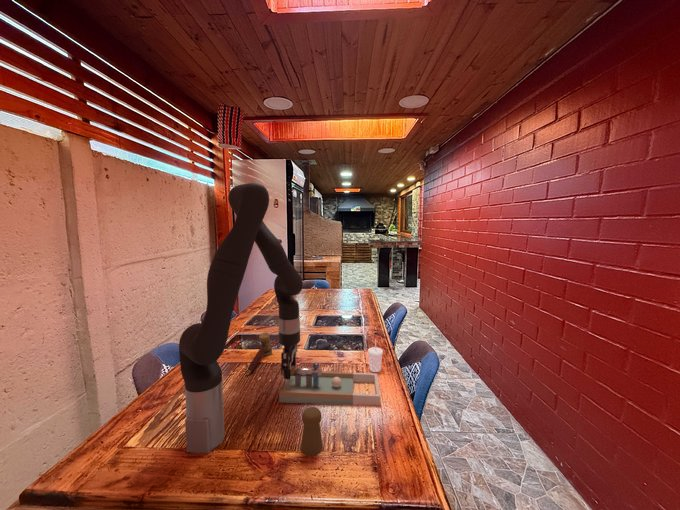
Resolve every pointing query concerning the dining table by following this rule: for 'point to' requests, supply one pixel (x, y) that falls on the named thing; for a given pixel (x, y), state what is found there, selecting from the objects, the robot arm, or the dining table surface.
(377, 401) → the pitch board
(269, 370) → the dining table surface
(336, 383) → the ball
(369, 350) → the beverage cup
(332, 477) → the dining table surface
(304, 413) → the pepper mill
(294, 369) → the rod
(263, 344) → the gavel
